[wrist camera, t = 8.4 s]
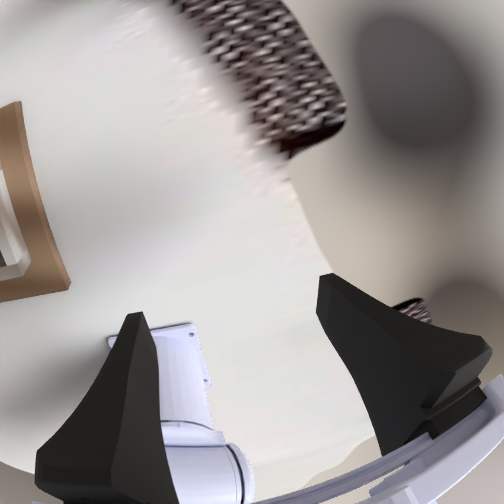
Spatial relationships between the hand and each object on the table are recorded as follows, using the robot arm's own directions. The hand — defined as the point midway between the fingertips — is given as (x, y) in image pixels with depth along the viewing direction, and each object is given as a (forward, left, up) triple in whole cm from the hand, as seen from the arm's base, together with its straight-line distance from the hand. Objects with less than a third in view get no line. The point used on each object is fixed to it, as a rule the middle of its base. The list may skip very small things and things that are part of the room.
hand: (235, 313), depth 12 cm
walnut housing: (+4, +17, -10) cm, 20 cm away
